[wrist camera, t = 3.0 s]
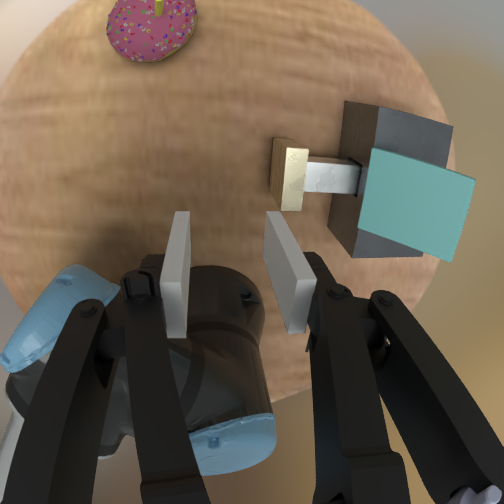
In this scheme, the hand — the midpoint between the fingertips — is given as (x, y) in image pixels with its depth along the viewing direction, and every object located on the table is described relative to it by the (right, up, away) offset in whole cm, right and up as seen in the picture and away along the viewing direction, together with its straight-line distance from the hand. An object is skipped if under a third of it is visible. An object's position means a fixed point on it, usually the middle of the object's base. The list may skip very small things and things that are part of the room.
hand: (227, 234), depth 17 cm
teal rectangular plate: (+16, +4, +8) cm, 19 cm away
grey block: (+16, +9, +19) cm, 27 cm away
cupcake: (-9, +22, +8) cm, 25 cm away
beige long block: (+11, +9, +17) cm, 22 cm away
